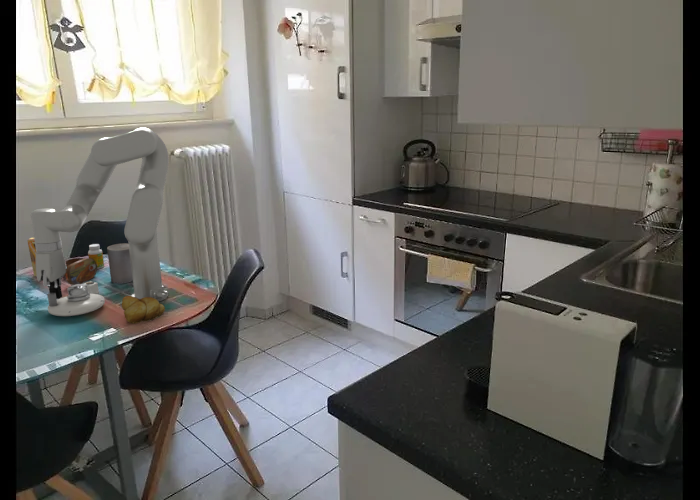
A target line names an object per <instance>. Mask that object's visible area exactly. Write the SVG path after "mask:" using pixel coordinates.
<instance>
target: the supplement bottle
mask: <svg viewBox="0 0 700 500" xmlns="http://www.w3.org/2000/svg"><path fill="white" fill-rule="evenodd" d="M88 247H89V248H88V249H89V250H88V252H87V255H88V258H92V259H94V260H95V262H96V264H97V270H98V269H102V268H104V267H105V263H104V256H103V255H104V253H103V250H102V248H101V246H100V244H99V243H92V244H89V245H88ZM100 248H101V249H100Z"/></svg>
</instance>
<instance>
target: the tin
mask: <svg viewBox="0 0 700 500" xmlns="http://www.w3.org/2000/svg"><path fill="white" fill-rule="evenodd" d="M83 258H84V257H83ZM97 273H98V269H97V264H96V262H95V260H94V259H92V258H89V257H88V258H84V259H82V260H79V261H77V262H75V263H72V264H70V265H69V266H68V267H66V273H65V277H64V278H65V282H66V283H68V284H69V285H70V286H72V285H76V284H84V283H87V282H89V281H91V279H93V278H95V277H96V275H97Z"/></svg>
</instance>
